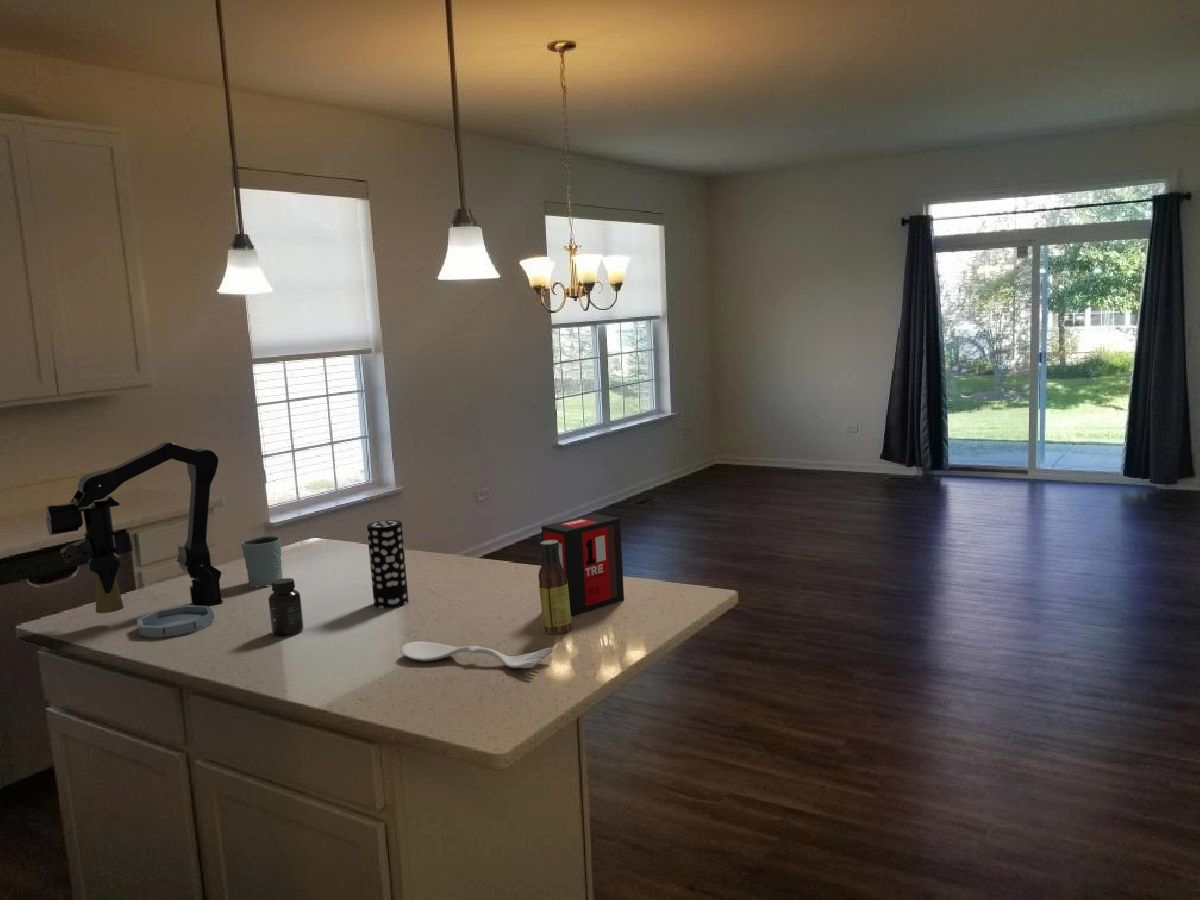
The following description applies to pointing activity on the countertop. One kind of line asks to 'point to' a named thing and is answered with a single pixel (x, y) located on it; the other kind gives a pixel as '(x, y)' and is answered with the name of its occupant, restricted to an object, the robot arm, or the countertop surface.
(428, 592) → the countertop surface
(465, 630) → the countertop surface
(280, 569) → the teal cup
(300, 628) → the supplement bottle
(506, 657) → the white spork
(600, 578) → the cleaning product box
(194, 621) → the dish
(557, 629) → the sauce bottle
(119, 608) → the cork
